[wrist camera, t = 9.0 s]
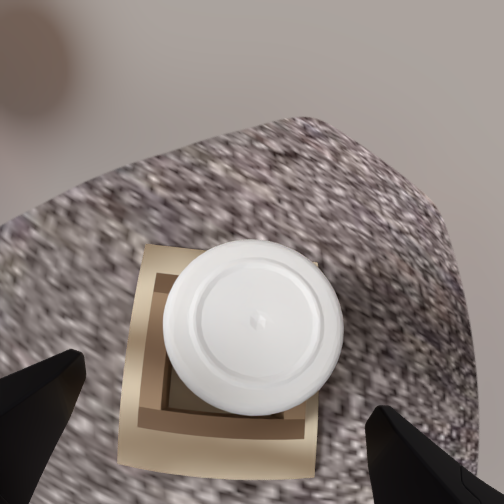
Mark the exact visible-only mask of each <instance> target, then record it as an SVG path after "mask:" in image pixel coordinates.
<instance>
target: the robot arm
mask: <svg viewBox="0 0 504 504" xmlns="http://www.w3.org/2000/svg"><path fill="white" fill-rule="evenodd" d="M85 379H86V368H85V360H84V355H83V353H82V352H79V351H77V350H74V349H69V350H66V351H64V352H62V353H59V354H57V355H55V356H52V357H50V358H48V359H45V360H43V361H41V362H38V363H36V364H34V365H31V366H29V367H27V368H24V369H22V370H20V371H17V372H15V373H12V374H10V375H8V376H5V377H3V378H1V379H0V504H29V502H30V500H31V497H32V495H33V493H34V491H35V488H36V486H37V484H38V482H39V479H40V477H41V475H42V473H43V471H44V469H45V467H46V465H47V463H48V460H49V458H50V456H51V454H52V452H53V450H54V448H55V446H56V444H57V442H58V440H59V438H60V436H61V434H62V433H63V431H64V429H65V427H66V425H67V423H68V421H69V419H70V417H71V414H72V412H73V409H74V406H75V404H76V401H77V399H78V396H79V394H80V391H81V389H82V386H83V384H84V381H85ZM365 434H366V446H367V460H368V469H369V475H370V481H371V486H372V492H373V498H374V504H504V494H502V493H500V492H499V491H497V490H495V489H494V488H492V487H491V486H489V485H488V484H486V483H485V482H483V481H482V480H480V479H479V478H477V477H476V476H475V475H473V474H472V473H471V472H469V471H468V470H467V469H466V468H464V467H463V466H462V465H460V464H459V463H458V462H457V461H456V460H454V459H453V458H452V457H451V456H450V455H448V454H447V453H446V452H445V451H443V450H442V449H441V448H440V447H439V446H437V445H436V444H435V443H434V442H432V441H431V440H430V439H429V438H428V437H426V436H425V435H424V434H423V433H422V432H420V431H419V430H418V429H417V428H416V427H414V426H413V425H412V424H411V423H410V422H408V421H407V420H406V419H405V418H404V417H402V416H401V415H400V414H399V413H398V412H396V411H395V410H394V409H393V408H392V407H390V406H388V405H379V406H377V407H376V408H375V409H374V411H373V413H372V414H371V416H370V417H369V419H368V420H367V422H366V425H365Z"/></svg>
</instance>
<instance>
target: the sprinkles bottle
mask: <svg viewBox="0 0 504 504" xmlns="http://www.w3.org/2000/svg"><path fill="white" fill-rule="evenodd" d="M343 335H344V324H343V315H342V311H341V307H340V303H339V300H338V298H337V295H336V293H335V291H334V289H333V287H332V285H331V284H330V282H329V280H328V279H327V278H326V276H325V275H324V274H323V272H322V271H321V270H320V269H319V268H318V267H317V266H316V265H315V264H314V263H312V262H311V261H310V260H309V259H308V258H306V257H305V256H303V255H302V254H300V253H299V252H297V251H295V250H293V249H291V248H289V247H287V246H284V245H281V244H278V243H275V242H271V241H266V240H251V239H247V240H238V241H232V242H228V243H224V244H221V245H219V246H216V247H214V248H211V249H209V250H207V251H205V252H204V253H203V254H201V255H199V256H198V257H197V258H196V259H194V260H193V261H192V262H191V263H190V264H189V265H188V266H187V267H186V268H185V269H184V270H183V271H182V272H181V274H180V275H179V276H178V278H177V279H176V281H175V283H174V284H173V286H172V288H171V291H170V293H169V295H168V298H167V301H166V305H165V309H164V314H163V336H164V343H165V347H166V351H167V354H168V356H169V359H170V361H171V363H172V365H173V367H174V369H175V371H176V372H177V374H178V376H179V377H180V379H181V380H182V381H183V382H184V384H185V385H186V386H187V387H188V388H189V389H190V390H191V391H192V392H193V393H194V394H195V395H197V396H198V397H199V398H201V399H202V400H204V401H205V402H207V403H208V404H210V405H212V406H214V407H216V408H219V409H221V410H224V411H227V412H230V413H235V414H239V415H248V416H262V415H270V414H275V413H279V412H283V411H286V410H289V409H291V408H293V407H295V406H297V405H300V404H301V403H303V402H304V401H306V400H307V399H309V398H310V397H311V396H313V395H314V394H315V393H316V392H317V391H318V390H319V389H320V388H321V387H322V386H323V385H324V384H325V382H326V381H327V380H328V378H329V377H330V375H331V374H332V372H333V370H334V368H335V366H336V364H337V362H338V359H339V356H340V353H341V349H342V344H343Z"/></svg>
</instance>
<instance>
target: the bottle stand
mask: <svg viewBox="0 0 504 504" xmlns="http://www.w3.org/2000/svg"><path fill="white" fill-rule="evenodd" d="M205 251H206V250H197V249H187V248H178V247H169V246H160V245H151V244H146V245H145V250H144V254H143V259H142V264H141V268H140V273H139V278H138V283H137V289H136V294H135V300H134V305H133V311H132V317H131V323H130V330H129V336H128V343H127V351H126V358H125V366H124V375H123V384H122V394H121V406H120V419H119V435H118V460H117V464H121V465H125V466H130V467H135V468H140V469H145V470H150V471H156V472H162V473H169V474H176V475H184V476H193V477H203V478H216V479H235V480H281V479H300V478H313V477H314V474H315V460H316V445H317V425H318V399H319V390H318V391H317V392H316V393H315V394H314V395H313V396H311V397H310V398H309V399H307V400H306V401H304V402H303V403H301V404H300V405H297V406H295V407H293V408H291V409H289V410H286V411H283V412H279V413H275V414H270V415H262V416H248V415H239V414H235V413H230V412H227V411H224V410H221V409H219V408H216V407H214V406H212V405H210V404H208V403H207V402H205V401H204V400H202V399H201V398H199V397H198V396H197V395H195V394H194V393H193V392H192V391H191V390H190V389H189V388H188V387H187V386H186V385H185V384H184V382H183V381H182V380H181V379H180V377H179V376H178V374H177V372H176V371H175V369H174V367H173V365H172V363H171V361H170V359H169V356H168V354H167V351H166V347H165V343H164V336H163V314H164V309H165V305H166V301H167V298H168V295H169V293H170V291H171V288H172V286H173V284H174V283H175V281H176V279H177V278H178V276H179V275H180V274H181V272H182V271H183V270H184V269H185V268H186V267H187V266H188V265H189V264H190V263H191V262H192V261H193V260H194V259H196V258H197V257H198V256H199V255H201V254H203V253H204V252H205ZM312 263H314V264H315V265H316V266H317V267H318V263H317V262H312Z"/></svg>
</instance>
